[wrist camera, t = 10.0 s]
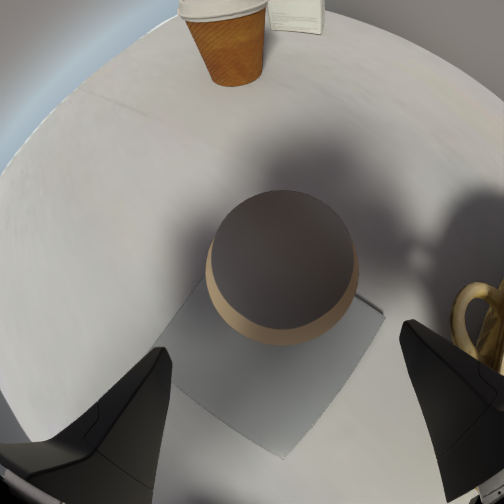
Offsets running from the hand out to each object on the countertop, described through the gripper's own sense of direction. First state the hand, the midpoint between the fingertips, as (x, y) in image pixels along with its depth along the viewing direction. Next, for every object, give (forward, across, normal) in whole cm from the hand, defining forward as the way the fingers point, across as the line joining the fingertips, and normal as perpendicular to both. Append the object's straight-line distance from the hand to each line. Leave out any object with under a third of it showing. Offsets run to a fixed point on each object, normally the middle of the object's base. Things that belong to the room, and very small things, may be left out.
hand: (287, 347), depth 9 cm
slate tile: (+7, +1, +7) cm, 10 cm away
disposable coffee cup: (+29, +2, -14) cm, 32 cm away
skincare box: (+38, -8, -24) cm, 46 cm away
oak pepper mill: (+9, 0, +5) cm, 10 cm away
